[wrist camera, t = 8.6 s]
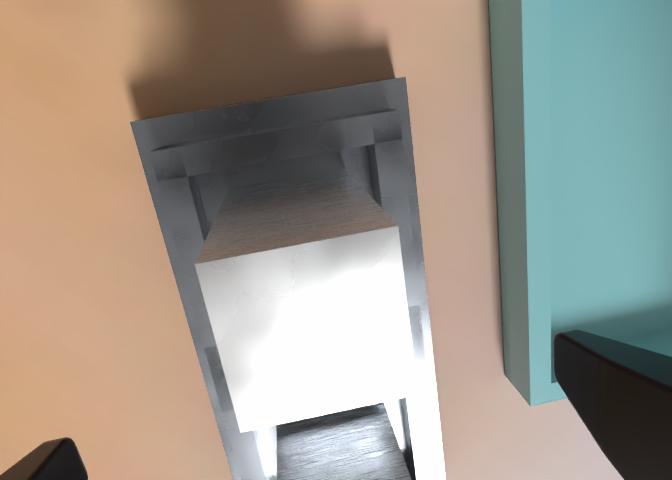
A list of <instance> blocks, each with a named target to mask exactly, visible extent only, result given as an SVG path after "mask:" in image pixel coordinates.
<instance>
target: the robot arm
mask: <svg viewBox="0 0 672 480" xmlns="http://www.w3.org/2000/svg"><path fill="white" fill-rule="evenodd" d="M554 374H555V378H556V380H557V382H558V384H559V386H560V387H561V389H562V390H563V392H564V393H565V395H566V396H567V398H568V400H569V401H570V403H571V404H572V406H573V407H574V409H575V410H576V412H577V414H578V415H579V417H580V418H581V420H582V421H583V423H584V424H585V426H586V427H587V429H588V431H589V432H590V434H591V435H592V437H593V438H594V440H595V441H596V443H597V444H598V446H599V447H600V449H601V450H602V452H603V453H604V454H605V456H606V457H607V458H608V460H609V461H610V462H611V463H612V465H613V466H614V467H615V469H616V470H617V471H618V472H619V474H620V475H621V476H622V477H623V479H624V480H672V357H671V356H668V355H664V354H661V353H657V352H654V351H651V350H647V349H644V348H640V347H637V346H633V345H630V344H627V343H623V342H620V341H616V340H613V339H610V338H606V337H603V336H599V335H596V334H592V333H589V332H586V331H582V330H578V329H574V330H569V331H565V332H560V333H557V334H556V335H555V337H554ZM0 480H88V475H87V471H86V468H85V466H84V464H83V461H82V459H81V457H80V454H79V452H78V449H77V447H76V445H75V443H74V441H73V440H72V439H71V438H68V437H65V438H60V439H56V440H51V441H47V442H44V443H42V444H41V445H40V446H38V447H37V448H36V449H34V450H33V451H32V452H30V453H29V454H28V455H26V456H25V457H24V458H22V459H21V460H20V461H19V462H17V463H16V464H15V465H13V466H12V467H11V468H9V469H8V470H7V471H5V472H4V473H3V474H1V475H0Z"/></svg>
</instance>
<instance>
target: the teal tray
mask: <svg viewBox="0 0 672 480" xmlns="http://www.w3.org/2000/svg"><path fill="white" fill-rule="evenodd" d="M489 16H490V39H491V63H492V86H493V110H494V133H495V156H496V180H497V203H498V227H499V250H500V274H501V297H502V320H503V344H504V367H505V376H506V377H507V378H508V379H509V381H510V382H511V383H512V384H513V385H514V387H515V388H516V389H517V390H518V392H519V393H520V394H521V395H522V397H523V398H524V399H525V400H526V401H527V403H528V404H529V405H530V406H535V405H539V404H544V403H548V402H553V401H557V400H562V399H566V398H567V396H566V395H565V393H564V392H563V390H562V389H561V387H560V386H559V384H558V382H557V380H556V378H555V374H554V337H555V335H556V334H557V333H560V332H565V331H569V330H574V329H578V330H582V331H586V332H589V333H592V334H596V335H599V336H603V337H606V338H610V339H613V340H616V341H620V342H623V343H627V344H630V345H633V346H637V347H640V348H644V349H647V350H651V351H654V352H657V353H661V354H664V355H668V356H671V357H672V0H489Z"/></svg>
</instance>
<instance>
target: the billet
mask: <svg viewBox="0 0 672 480" xmlns="http://www.w3.org/2000/svg"><path fill="white" fill-rule="evenodd" d="M195 268H196V271H197V275H198V279H199V282H200V286H201V290H202V293H203V297H204V301H205V304H206V308H207V312H208V315H209V319H210V323H211V326H212V330H213V334H214V337H215V341H216V345H217V348H218V352H219V356H220V359H221V363H222V367H223V370H224V374H225V378H226V381H227V385H228V389H229V392H230V396H231V400H232V403H233V407H234V411H235V414H236V418H237V422H238V425H239V429H240V433H242V432H247V431H251V430H256V429H260V428H265V427H270V426H274V425H279V424H283V423H288V422H293V421H297V420H302V419H306V418H311V417H316V416H320V415H325V414H329V413H334V412H339V411H343V410H348V409H352V408H357V407H362V406H366V405H371V404H375V403H380V402H385V401H389V400H394V399H398V398H403V397H407V396H412V395H417V394H418V390H417V382H416V373H415V365H414V356H413V348H412V339H411V331H410V322H409V314H408V305H407V297H406V288H405V280H404V271H403V263H402V254H401V245H400V237H399V228H398V225H397V224H396V223H395V222H394V221H393V220H392V219H391V218H390V216H389V215H388V214H387V213H386V212H385V211H384V210H383V209H382V208H381V207H380V206H379V205H378V204H377V202H376V201H375V200H374V199H373V198H372V197H371V196H370V195H369V194H368V193H367V192H366V191H365V190H364V188H363V187H362V186H361V185H360V184H359V183H358V182H357V181H356V180H355V179H354V178H353V177H352V176H351V174H350V173H349V172H348V171H347V170H346V169H341V170H335V171H330V172H324V173H318V174H313V175H307V176H302V177H296V178H290V179H285V180H279V181H274V182H268V183H262V184H257V185H251V186H246V187H240V188H234V189H229V190H228V191H227V193H226V196H225V198H224V200H223V202H222V205H221V207H220V209H219V211H218V213H217V216H216V218H215V220H214V222H213V225H212V227H211V229H210V231H209V233H208V236H207V238H206V240H205V242H204V245H203V247H202V249H201V251H200V253H199V256H198V258H197V260H196V262H195Z"/></svg>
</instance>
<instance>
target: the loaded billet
mask: <svg viewBox="0 0 672 480" xmlns="http://www.w3.org/2000/svg"><path fill="white" fill-rule="evenodd" d="M276 435H277V480H411V477H410V474H409V471H408V469H407V466H406V463H405V460H404V457H403V455H402V452H401V449H400V446H399V443H398V441H397V438H396V435H395V432H394V429H393V427H392V424H391V421H390V418H389V415H388V412H387V410H386V407H385V404H384V402H380V403H375V404H371V405H366V406H362V407H357V408H352V409H348V410H343V411H339V412H334V413H329V414H325V415H320V416H316V417H311V418H306V419H302V420H297V421H293V422H288V423H283V424H279V425H276Z"/></svg>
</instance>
